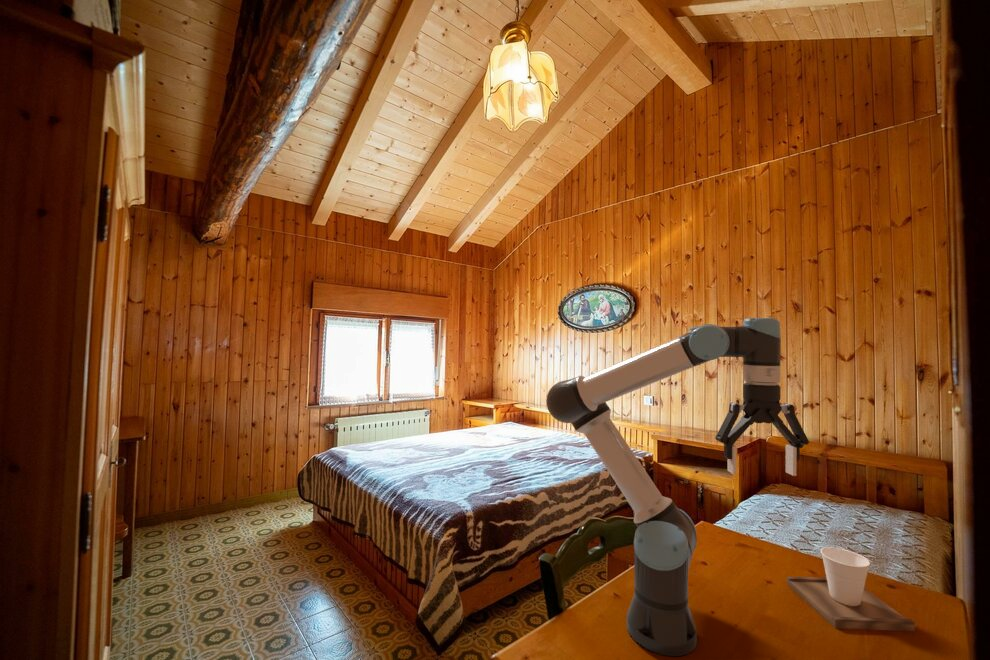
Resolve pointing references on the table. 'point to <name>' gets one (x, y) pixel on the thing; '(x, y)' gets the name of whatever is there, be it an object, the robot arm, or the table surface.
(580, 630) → the table surface
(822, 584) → the board
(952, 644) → the table surface
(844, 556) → the cup
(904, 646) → the table surface
